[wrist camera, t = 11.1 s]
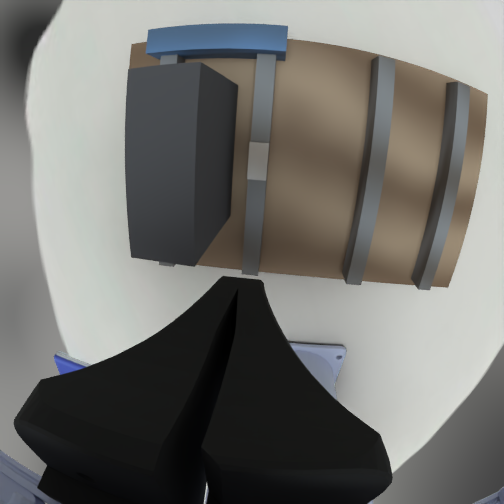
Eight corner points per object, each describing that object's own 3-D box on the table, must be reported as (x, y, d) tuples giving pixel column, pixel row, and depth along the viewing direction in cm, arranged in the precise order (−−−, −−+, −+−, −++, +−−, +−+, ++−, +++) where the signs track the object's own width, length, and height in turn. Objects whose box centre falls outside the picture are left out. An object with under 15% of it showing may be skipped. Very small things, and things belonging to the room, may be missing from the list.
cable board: (443, 282, 20) (462, 305, 17) (136, 252, 21) (116, 273, 18) (481, 94, 14) (508, 94, 11) (137, 46, 15) (112, 36, 12)
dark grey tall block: (230, 215, 18) (194, 266, 12) (184, 211, 19) (131, 257, 12) (238, 85, 15) (200, 61, 9) (188, 85, 15) (128, 69, 9)
